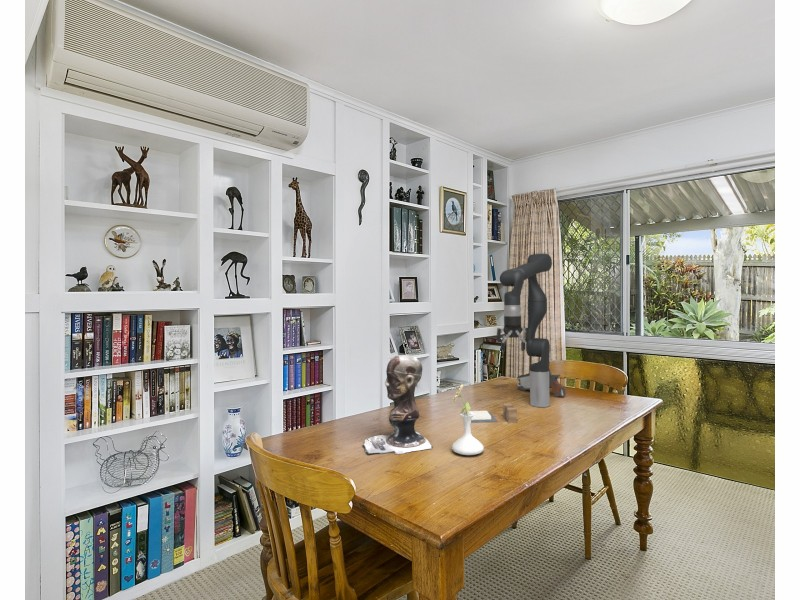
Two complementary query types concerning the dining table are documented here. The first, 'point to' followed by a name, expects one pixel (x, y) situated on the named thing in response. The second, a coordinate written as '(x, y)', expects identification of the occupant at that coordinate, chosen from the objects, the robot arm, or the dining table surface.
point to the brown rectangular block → (510, 413)
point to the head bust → (401, 409)
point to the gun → (553, 383)
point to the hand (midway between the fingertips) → (513, 351)
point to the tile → (480, 415)
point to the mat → (487, 420)
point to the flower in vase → (466, 432)
